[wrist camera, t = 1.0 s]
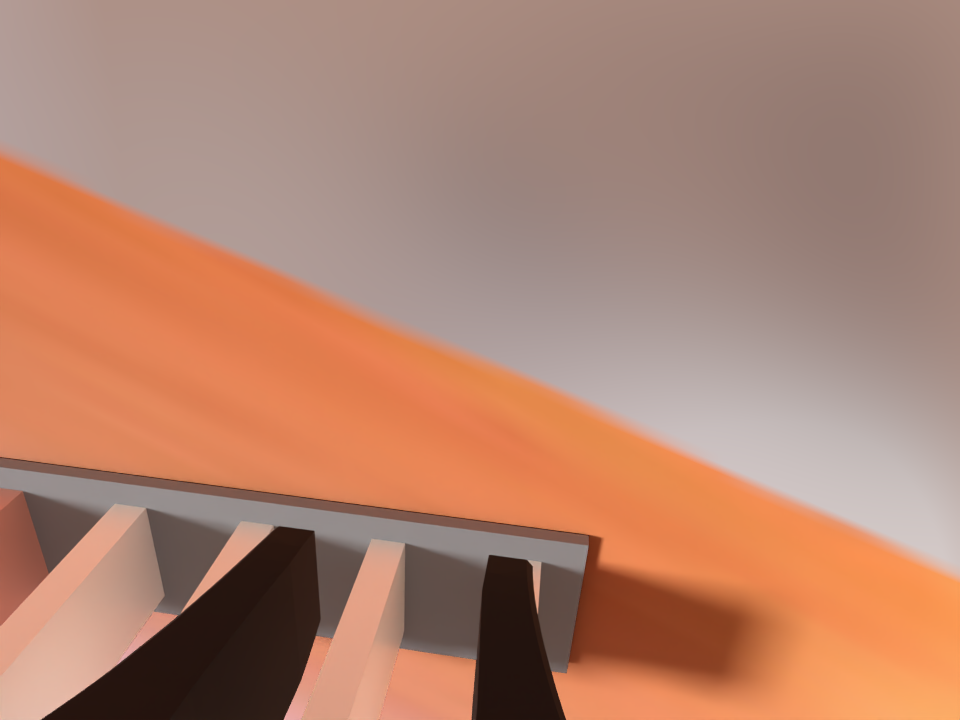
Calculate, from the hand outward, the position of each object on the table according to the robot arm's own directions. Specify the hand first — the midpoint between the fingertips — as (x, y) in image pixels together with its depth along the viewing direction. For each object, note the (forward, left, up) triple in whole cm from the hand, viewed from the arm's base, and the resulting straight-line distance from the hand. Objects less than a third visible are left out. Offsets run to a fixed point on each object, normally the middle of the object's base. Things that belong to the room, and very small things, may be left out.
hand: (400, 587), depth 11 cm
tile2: (-9, +7, -10) cm, 15 cm away
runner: (-7, +11, -10) cm, 17 cm away
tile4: (-5, +15, -10) cm, 19 cm away
